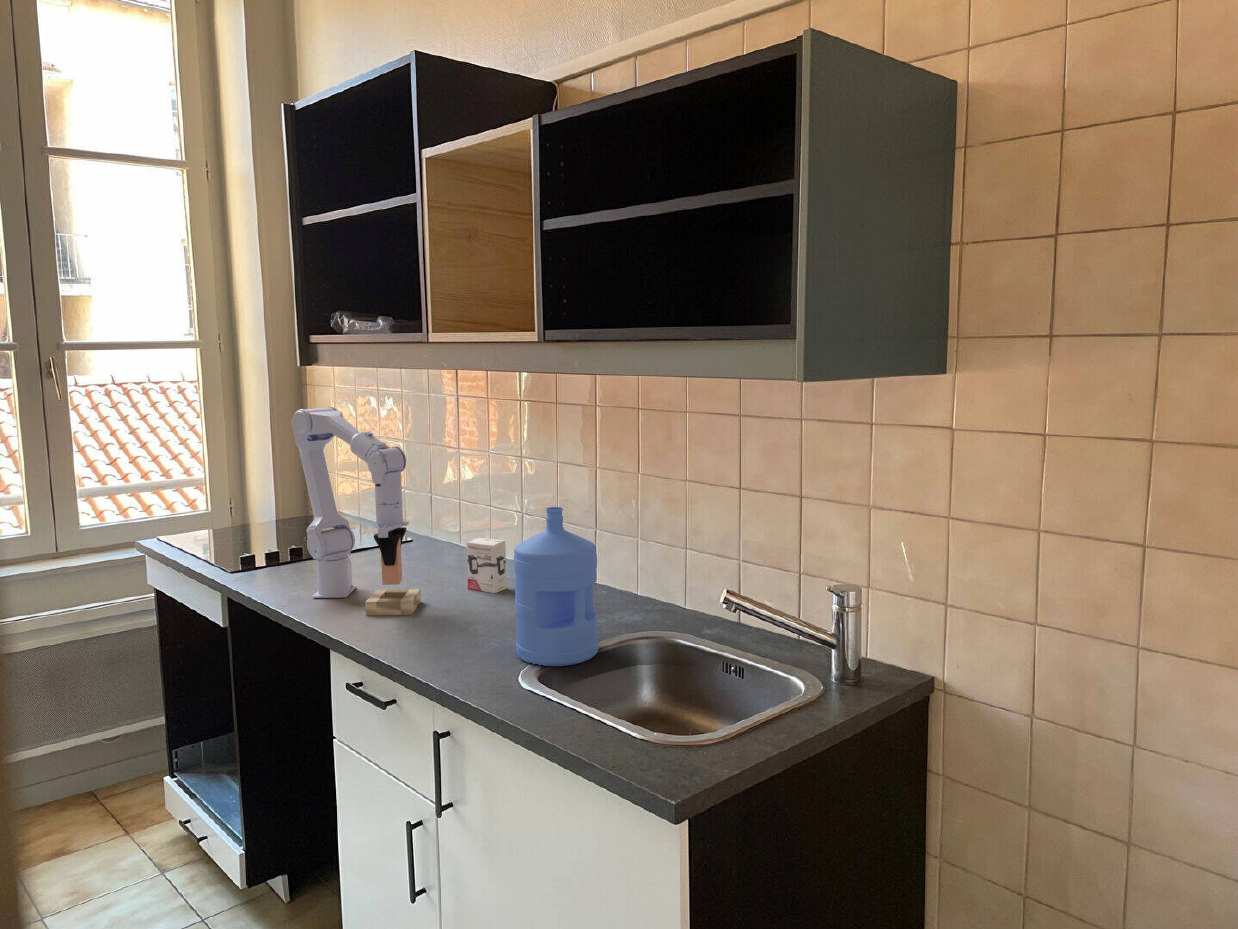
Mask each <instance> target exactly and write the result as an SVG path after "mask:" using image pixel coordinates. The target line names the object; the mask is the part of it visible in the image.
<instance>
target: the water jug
mask: <svg viewBox="0 0 1238 929" xmlns="http://www.w3.org/2000/svg"><path fill="white" fill-rule="evenodd" d="M563 510H564V509H563V507H560V506H551V507H547V508H545V511H546V517H545V521H546V528H545V529H544V530H543V531H541V532H539V533H537V534H535V535H533V536H531V537H529V538H527V539H525V540H523V541H521V542H519V543H518V544H517V545H516V546H514V549H513V550H514V551H513V553H514V554H513V570H514V592H515V593H514V594H515V599H514V612H515V619H516V620H515V621H516V622H515V623H516V624H515V625H516V626H515V627H516V628H515V629H516V641H515V651H516V655H517V656H518V657H519V658H520V659H521V660H522V661H524V662H525V663H528V664H531V663H532V665H535V664H538V665H537V666H541V665H543V667H564V666H566V667H567V666H573V665H578V664H581V663H584V662H588V661H589V660H591V659H592V658H594V657H595V656H596V654H598V651H599V648H600V646H599V645H600V644H599V636H598V635H599V633H598V628H599V627H598V624H599V623H598V616H597V613H596V611H595V609H594V584H596V582H597V580H598V579H597V578H598V576H597V570H598V569H597V568H598V555H597V547H596V544H595V543H594V542H592V541H591V540H588V539H586V538H585V537H582V536H580V535H577V534H574V533H572V532H570V531H568V530H566V529H565V528H564V523H563V521H564V516H563Z"/></svg>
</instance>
